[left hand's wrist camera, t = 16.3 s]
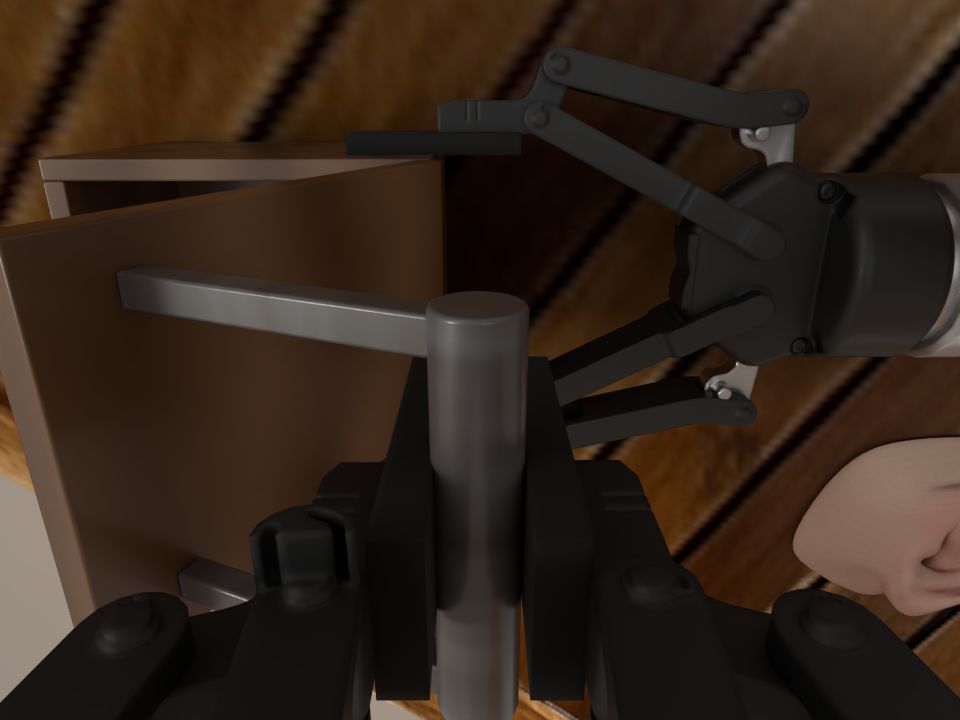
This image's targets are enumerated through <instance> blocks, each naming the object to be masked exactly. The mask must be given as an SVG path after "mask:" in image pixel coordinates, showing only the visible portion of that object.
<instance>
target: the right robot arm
mask: <svg viewBox="0 0 960 720" xmlns="http://www.w3.org/2000/svg"><path fill="white" fill-rule="evenodd" d="M567 88H568V89H571V90H575V91H579V92H583V93H587V94H590V95H594V96H598V97H602V98H606V99H610V100H613V101H617V102H621V103H625V104H629V105H632V106H636V107H640V108H644V109H648V110H652V111H655V112H659V113H663V114H667V115H671V116H675V117H678V118H682V119H686V120H690V121H694V122H697V123H701V124H706V125H711V126H719V127H728V128H732V138H733V140H734V142H735V143H736V144H737V145H738V146H740V147H745V148H750V149H752V150H753V151H754V152H755V153H756V155H757V157H758V164H756V165H754V166H753V167H751V168H750V169H748V170H747V171H745V172H744V173H742V174H741V175H739V176H738V177H737V178H735V179H734V180H732V181H731V182H729V183H728V184H726V185H725V186H723V187H722V188H720V189H719V190H717V191H716V192H714V193H713V194H712V193H710V192H708V191H706V190H704V189H703V188H701V187H699V186H697V185H695V184H693V183H691V182H689V181H687V180H685V179H684V178H682V177H680V176H678V175H677V174H675V173H673V172H671V171H669V170H668V169H666V168H664V167H662V166H660V165H659V164H657V163H655V162H653V161H652V160H650V159H648V158H646V157H644V156H643V155H641V154H639V153H637V152H636V151H634V150H632V149H630V148H628V147H627V146H625V145H623V144H621V143H619V142H618V141H616V140H614V139H612V138H611V137H609V136H607V135H605V134H603V133H602V132H600V131H598V130H596V129H595V128H593V127H591V126H589V125H587V124H586V123H584V122H582V121H580V120H578V119H577V118H575V117H573V116H571V115H570V114H568V113H566V112H564V111H562V110H561V109H560V106H561V104H562V101H563V98H564V96H565V93H566V91H567ZM808 108H809V100H808V97H807V96H806V94H805V93H804V92H802V91H801V90H795V89H790V90H765V91H757V92H749V93H737V92H733V91H730V90H726V89H722V88H718V87H715V86H711V85H707V84H704V83H700V82H696V81H692V80H689V79H685V78H681V77H677V76H674V75H670V74H666V73H662V72H659V71H655V70H651V69H647V68H644V67H640V66H636V65H632V64H629V63H625V62H621V61H617V60H614V59H610V58H606V57H602V56H599V55H595V54H591V53H587V52H584V51H580V50H576V49H572V48H569V47H565V46H557V47H555V48H552V49H551V50H550V51H548V52H547V53H546V54H545V55H544V56H543V57H541V59H540V62H539V65H538V69H537V71H536V74H535V77H534V80H533V82H532V85H531V87H530V89H529V91H528V92H527V93H526V95H524V96H523V97H522V98H519V99H517V100H450V101H448V102H446V103H443V104H441V105H439V106H437V112H438V131H356V132H351V133H347V134H345V135H346V149H347V155H521V145H522V134H534V135H536V136H538V137H540V138H542V139H543V140H545V141H547V142H549V143H551V144H552V145H554V146H556V147H558V148H560V149H562V150H563V151H565V152H567V153H569V154H571V155H572V156H574V157H576V158H578V159H580V160H582V161H583V162H585V163H587V164H589V165H591V166H592V167H594V168H596V169H598V170H600V171H602V172H603V173H605V174H607V175H609V176H611V177H612V178H614V179H616V180H618V181H620V182H622V183H623V184H625V185H627V186H629V187H631V188H632V189H634V190H636V191H638V192H640V193H642V194H643V195H645V196H647V197H649V198H651V199H652V200H654V201H656V202H658V203H660V204H662V205H663V206H665V207H667V208H669V209H671V210H672V211H674V212H676V213H678V214H680V215H681V216H683V217H684V218H683V220H682V222H681V224H680V225H676V228H675V237H674V247H675V253H676V259H677V262H676V265H675V268H674V270H673V273H672V275H671V278H670V285H669V294H668V296H669V297H670V298H671V299H670V300H668V301H666V302H664V303H662V304H660V305H657V306H655V307H654V308H652V309H651V310H649V312H648V313H647V314H646V315H645V316H644V317H642V318H639V319H637V320H635V321H633V322H631V323H629V324H627V325H625V326H623V327H620V328H618V329H616V330H614V331H612V332H610V333H608V334H606V335H603V336H601V337H599V338H597V339H595V340H593V341H591V342H589V343H586V344H584V345H582V346H580V347H578V348H576V349H574V350H572V351H569V352H567V353H565V354H563V355H561V356H559V357H557V358H555V359H552V360H550V361H548V362H549V365H550V369H551V373H552V377H553V381H554V384H555V388H556V392H557V396H558V400H559V403H560V407H561V411H562V415H563V419H564V422H565V426H566V430H567V434H568V438H569V441H570V445H571V449H577V448H582V447H586V446H591V445H596V444H601V443H605V442H610V441H615V440H620V439H625V438H629V437H634V436H639V435H644V434H648V433H653V432H658V431H663V430H668V429H672V428H677V427H682V426H687V425H691V424H696V423H701V422H705V423H714V424H724V425H734V426H746V425H748V424H750V423H751V422H752V421H754V420H755V418H756V416H757V409H756V406H755V405H754V404H753V403H752V402H751V401H750V395H751V392H752V388H753V385H754V381H755V378H756V374H757V371H758V367H759V366H762V365H765V364H767V363H769V362H771V361H773V360H776V359H778V358H781V357H785V356H790V355H797V356H812V357H889V356H896V355H899V354H903V355H907V356H912V357H960V173H927V174H924V175H921V176H916V175H913V174H910V173H811V172H808V171H806V170H805V169H803V168H802V167H800V166H799V165H797V164H795V163H793V149H794V131H795V123H797V122H799V121H800V120H801V119H803V118H804V116H805V115H806V113H807V112H808ZM710 344H714V345H716V346H717V347H718V348H720V349H721V350H722V351H724V352H725V353H726V354H728V355H729V358H728V360H727V361H726V363H724V364H723V365H721V366H719V367H713V368H705V369H704V370H703V371H702V373H701V376H700V377H696V376H690V377H679V378H673V379H668V380H663V381H659V382H654V383H650V384H645V385H640V386H636V387H631V388H626V389H622V390H617V391H612V392H608V393H603V394H599V395H594V396H589V397H585V398H581V397H584V396H586V395H588V394H590V393H592V392H595V391H597V390H599V389H601V388H603V387H605V386H608V385H610V384H612V383H614V382H616V381H619V380H621V379H623V378H625V377H627V376H630V375H632V374H634V373H636V372H638V371H641V370H643V369H645V368H647V367H649V366H652V365H654V364H656V363H658V362H660V361H662V360H665V359H667V358H670V357H676V358H679V357H683V356H686V355H688V354H691V353H693V352H695V351H697V350H699V349H702V348H704V347H706V346H708V345H710ZM579 398H580V399H579Z"/></svg>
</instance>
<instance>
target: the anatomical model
mask: <svg viewBox="0 0 960 720" xmlns="http://www.w3.org/2000/svg"><path fill="white" fill-rule="evenodd" d="M793 550H794V552H795V554H796V556H797V557H798V558H799V559H800V561H802V562H803V563H804V564H805V565H806V566H808V567H809V568H810V569H812V570H814V571H815V572H817V573H818V574H820V575H821V576H823V577H825V578H826V579H828V580H830V581H831V582H833V583H835V584H838V585H840V586H842V587H845V588H847V589H850V590H852V591H855V592H858V593H862V594H869V595H876V594H883V593H885V595H886V596H887V598H888V599H889V601H890V602H891V603H892V605H893V606H894V607H895V608H896V609H897V610H898V611H900V612H901V613H903V614H905V615H909V616H919V615H924V614H928V613H931V612H935V611H938V610H942V609H945V608H948V607H951V606H955V605H958V604H960V437H947V438H927V439H916V440H908V441H902V442H895V443H891V444H887V445H883V446H880V447H877V448H874V449H872V450H869V451H867V452H865V453H863V454H861V455H860V456H858V457H857V458H855V459H854V460H852V461H851V462H850V463H848V464H847V465H846V466H845V467H843V468H842V469H841V470H840V471H839V472H838V473H837V474H836V475H835V476H834V477H833V478H832V479H831V480H830V481H829V483H828V484H827V485H826V486H825V487H824V488H823V490H822V491H821V492H820V494H819V495H818V496H817V498H816V499H815V500H814V502H813V503H812V505H811V506H810V508H809V509H808V511H807V512H806V514H805V515H804V517H803V519H802V521H801V522H800V524H799V526H798V528H797V530H796V533H795V535H794V539H793Z"/></svg>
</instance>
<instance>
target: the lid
mask: <svg viewBox="0 0 960 720" xmlns="http://www.w3.org/2000/svg"><path fill="white" fill-rule="evenodd" d="M528 339H529V308H528V305H527V303H526V302H525V301H524V300H522V299H520V298H518V297H515V296H512V295H508V294H504V293H498V292H489V291H466V292H457V293H451V294H447V295H443V249H442V201H441V162H440V161H439V160H414V161H408V162H402V163H396V164H389V165H383V166H377V167H371V168H365V169H359V170H352V171H346V172H340V173H334V174H328V175H322V176H316V177H309V178H303V179H297V180H291V181H285V182H279V183H272V184H266V185H260V186H254V187H248V188H242V189H235V190H229V191H223V192H217V193H211V194H205V195H199V196H192V197H186V198H180V199H174V200H168V201H162V202H155V203H149V204H143V205H137V206H131V207H125V208H118V209H112V210H106V211H100V212H94V213H88V214H82V215H75V216H69V217H63V218H57V219H51V220H45V221H38V222H32V223H26V224H20V225H14V226H8V227H1V228H0V371H1V374H2V378H3V381H4V385H5V388H6V392H7V395H8V398H9V402H10V405H11V409H12V412H13V416H14V419H15V423H16V426H17V430H18V433H19V437H20V440H21V444H22V447H23V451H24V454H25V458H26V461H27V465H28V468H29V472H30V475H31V479H32V482H33V486H34V489H35V493H36V496H37V500H38V503H39V507H40V510H41V514H42V517H43V521H44V524H45V528H46V531H47V534H48V538H49V542H50V545H51V549H52V552H53V556H54V559H55V563H56V566H57V570H58V573H59V577H60V580H61V584H62V587H63V591H64V594H65V597H66V601H67V605H68V608H69V612H70V615H71V619H72V622H73V626H74V628H75V627H76V626H77V625H78V624H79V623H80V622H81V621H83V620H84V619H85V618H87V617H88V616H89V615H90V614H92V613H93V612H94V611H95V610H97V609H98V608H100V607H102V606H104V605H106V604H108V603H111V602H113V601H115V600H117V599H119V598H122V597H126V596H130V595H133V594H137V593H141V592H165V593H168V594H171V595H174V596H178V597H179V598H180V599H181V600H182V601H183V602H184V603H185V604H186V606H187V607H188V612H189V617H190V616H194V615H199V614H203V613H207V612H210V611H211V610H215V611H216V610H221V609H225V608H228V607H232V606H235V605H238V604H241V603H244V602H246V601H248V600H250V599H252V598H254V595H255V592H256V584H255V578H254V574H253V573H254V571H253V564H252V558H251V551H250V545H249V538H248V536H249V535H250V533H251V532H252V531H253V529H254V528H255V526H256V525H257V524H258V523H260V522H261V521H263V520H264V519H266V518H267V517H269V516H270V515H271V514H274V513H276V512H279V511H282V510H284V509H287V508H290V507H295V506H302V505H309V504H312V502H313V500H314V498H316V493H317V491H318V488H319V486H320V483H321V481H322V479H323V477H324V476H325V475H326V474H327V473H329V472H330V471H331V470H332V469H333V468H335V467H336V466H337V465H338V464H339V463H340V462H381V461H382V460H383V459H384V458H385V457H386V456H387V453H388V449H389V445H390V441H391V438H392V434H393V430H394V426H395V422H396V419H397V415H398V411H399V407H400V403H401V400H402V396H403V392H404V388H405V384H406V381H407V377H408V373H409V369H410V365H411V362H412V358H413V357H422V358H427V374H428V406H429V438H430V461H431V464H432V466H433V479H434V512H435V546H436V580H437V618H436V636H435V642H434V654H433V665H432V677H431V689H430V692H433V693H435V694H438V705H439V708H440V711H441V713H442V714H443V716H444V717H445V719H446V720H510V719H511V717H512V716H513V715H514V713H515V711H516V708H517V705H518V692H519V657H520V622H521V586H522V551H523V516H524V480H525V445H526V410H527V375H528Z"/></svg>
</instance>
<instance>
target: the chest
mask: <svg viewBox="0 0 960 720" xmlns="http://www.w3.org/2000/svg"><path fill="white" fill-rule="evenodd" d="M414 160H439V161H440V162H441V201H442V249H443V295H447V241H446V187H445V155H347V149H346V142H159V143H151V144H144V145H137V146H129V147H122V148H114V149H107V150H100V151H92V152H85V153H78V154H70V155H63V156H55V157H48V158H41V159H39V160H38V162H39V166H40V171H41V175H42V179H43V180H44V181H45V182H43V184H44V188H45V193H46V197H47V201H48V205H49V210H50V214H51V218H52V219H57V218H63V217H69V216H75V215H82V214H88V213H94V212H100V211H106V210H112V209H118V208H125V207H131V206H137V205H143V204H149V203H155V202H162V201H168V200H174V199H180V198H186V197H192V196H199V195H205V194H211V193H217V192H223V191H229V190H235V189H242V188H248V187H254V186H260V185H266V184H272V183H279V182H285V181H291V180H297V179H303V178H309V177H316V176H322V175H328V174H334V173H340V172H346V171H352V170H359V169H365V168H371V167H377V166H383V165H389V164H396V163H402V162H408V161H414Z"/></svg>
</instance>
